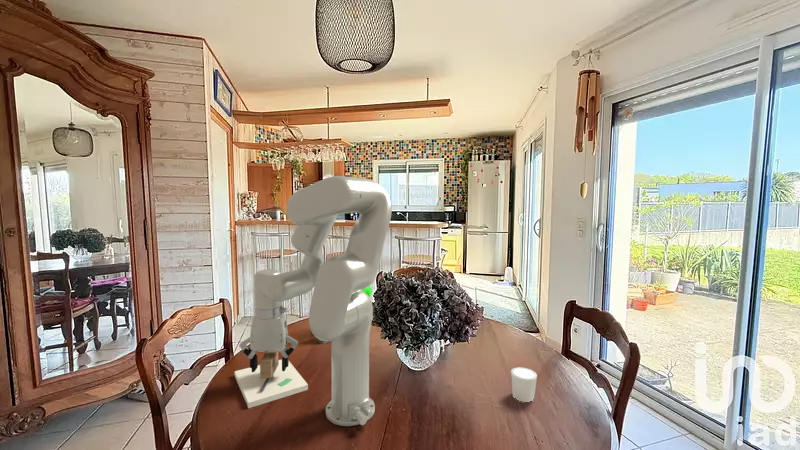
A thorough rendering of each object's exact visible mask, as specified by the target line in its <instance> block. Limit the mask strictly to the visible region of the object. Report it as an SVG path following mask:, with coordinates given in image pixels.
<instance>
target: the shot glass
mask: <svg viewBox="0 0 800 450" xmlns="http://www.w3.org/2000/svg"><path fill="white" fill-rule="evenodd" d="M510 373H511V374H510V375H511V387H512V389H511V390H512V397H513V399H514V398H516V399H517V400H519V401H518V402H520V401H523V402H522V403H524V402H530V401H532V402H533V401H534V400H535V393H536V386H537V381H538V380H537V379H538V374H537V373H536V372H535V371H534V370H532V369H531V368H527V367H522V366H521V367H518V366H517V367H514V368H512V369H511V370H510ZM516 399H515V400H516ZM533 399H534V400H533ZM517 400H516V401H517ZM530 403H531V402H530Z"/></svg>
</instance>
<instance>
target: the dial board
mask: <svg viewBox="0 0 800 450" xmlns="http://www.w3.org/2000/svg"><path fill="white" fill-rule="evenodd" d="M278 362H279V365H278V367H277V368H276V370H275V372H274V374H273V378H270V380H269V381H268V383H267V385H266V387H265V388H264V390H263V391H261V392H260V389H261V387H262V386H263V384H264V382H265V381H266V379H267V378H260V364H258V367H257V369H256V370H255V372H252V368H250V367H246V368H243V369H238V370H235V371H234V377H235V380H236V382H237V384H238V385H237V386H238V388H239V390H240V391H241V394H242V396H243V399H244V401H245V404H246V406H247V408H248V409H252V408H253V407H254V408H255V407H257V406H261V405H264V404H266V403H267V404H268V403H270V402H274V401H276V400H280V399H282V398H286V397H289V396H292V395H295V394H299V393H302V392H305V391H308V390H309V384H308V383H307V381H306V380H305V378H303V377H302V375H301V374H300V372H298V370H297V369H296V368H295V367H294V365H293V364H292V362H290V361H289V365H288V367H286V369H285V371H282V359H278Z"/></svg>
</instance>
